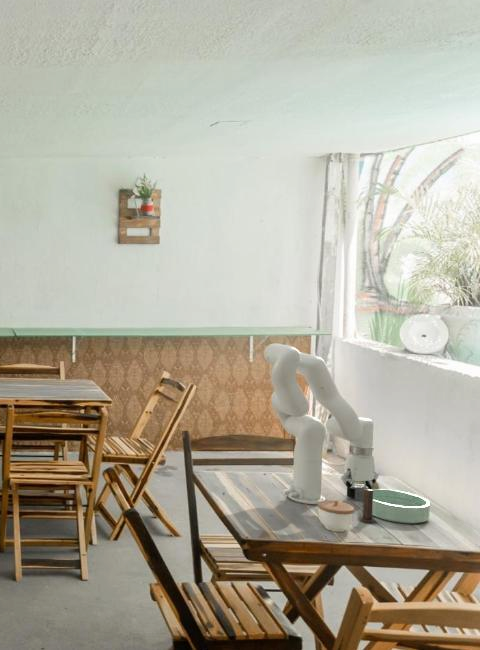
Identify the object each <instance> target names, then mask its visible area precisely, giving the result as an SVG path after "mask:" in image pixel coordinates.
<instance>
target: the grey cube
mask: <svg viewBox="0 0 480 650" xmlns="http://www.w3.org/2000/svg"><path fill="white" fill-rule="evenodd" d="M351 484H352V483H351ZM354 489H355V499H352V500H353V501H356V502H357V501H358V502H363V493H364V489H369V488H368V487H367V486H366V485H365V484H355V486H354Z"/></svg>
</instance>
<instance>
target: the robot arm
mask: <svg viewBox="0 0 480 650" xmlns="http://www.w3.org/2000/svg"><path fill="white" fill-rule="evenodd" d="M263 350H264V351H263V357H264V360H265V361H266V362H267V363H268V364H270V365H271V366H273V367H272V369H271V372H270V384H271V386H272V388H273V392H272V394H271V396H270V404H271V407H272V409H273V412H274V413H275V415H276V417H277V418H278V420H279V422H280V424H281V426H282V427H283V428H284V430H285V431H286V432H287V433H288V434H289V435H291V436H293V437H296V442H295V445H294V449H293V466H292V467H293V472H292V485H290V488H288V489H282V490H281V494H282V495H284V496H286V495H287V497H288V499H290V500H292V501H294V502H297V503H301V504H307V505H318V502H319V501H323V500H326V497H325V496H324V495H322V476H323V474H322V473H323V449H324V443H325V439H326V435H327V433H326V432H329V434H331V435H333V436H335V437H338V438H340V439H342V440H344V441H348V442H349V450H348V453H347V455H346V457H345V462H344V471H343V475H341V477H340V479H341V481H342V482H343V484H344V485H345V487H346V497H347V498H349V499H352V500H353V499H355V489H354V486H355V484H356V482H359V481H364V483H365V485H366V486H367V487H368V488H369V489H372V487H373V484H374V483H375V482H377V480H378V478H379V474H377V472H376V471H375V470H376V469H375V468H376V467H375V458H374V454H373V451H374V447H373V446H374V421H373V420H372V419H370V418H367V417H359V416H358V414H357V413H356V411H355V409H354V408H353V406H352V405H351V404H350V403H349V401H348V400H347V399H346V397H344V395H343V394H342V393H341V392H340V390H339V388H338V386H337V384H336V383H335V381H334V378H333V376H332V374H331V372H330V370H329V367H328V365H327V364H326V362H325V360H324V359H323V358H322V357H320V356H318V355H313V354H310V353H305V352H301V351H299V350H298V349H297V348H296V347H295V346H291V345H287V344H282V343H277V342H274V343H270V344H268V345H266V347H265V349H263ZM296 374H297V375H300V376H302V377H304V379H305V380H306V381H305V382H306V383H307V385H308V387H309V389H310V391H311V394H312V396H313V398H314V399H315V401H317V402H318V403H319V405H321V406H322V407H323V408H325V409H326V410H327V411H328V412H329V413H330V414H331V415H332V417H330V418H328V419H327V420H326V422H325V425H324V423H323V422H322V421H321V420H320V419H319V418H318V417H315V416H313V415H310V414H308V413H309V410H310V403H309V401H308V399H307V397H306V395H305V394H304V391H303V390H302V388H301V386H300V385H299V382H298V380H297V378H296ZM326 430H327V431H326ZM347 479H348V480H347ZM351 481H352V484H351Z"/></svg>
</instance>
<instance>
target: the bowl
mask: <svg viewBox="0 0 480 650" xmlns="http://www.w3.org/2000/svg"><path fill="white" fill-rule="evenodd" d="M371 490H373V505H372V516H374V517H376V518H379V519H382V520H385V521H390V522H393V523H400V524H419V523H424V522H427V521H429V519H430V510H431V509H430V508H431V503H430V501H429V500H428V499H426V498H424V497H422V496H419V495H417V494H415V493H410V492H407V491H406V492H405V491H401V490H395V489H388V488H377V489H371ZM363 496H364V493H363Z"/></svg>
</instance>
